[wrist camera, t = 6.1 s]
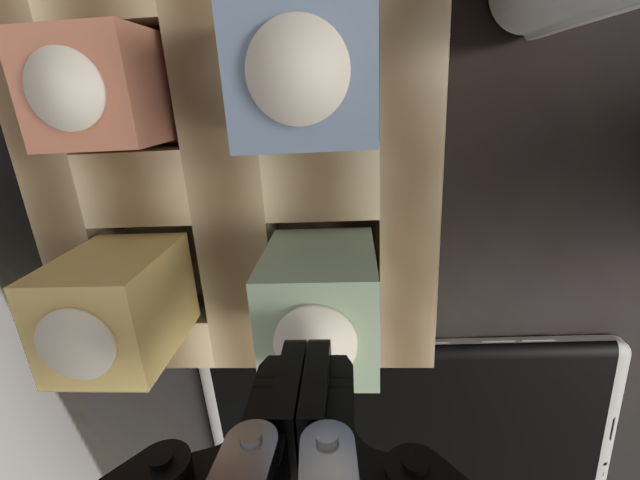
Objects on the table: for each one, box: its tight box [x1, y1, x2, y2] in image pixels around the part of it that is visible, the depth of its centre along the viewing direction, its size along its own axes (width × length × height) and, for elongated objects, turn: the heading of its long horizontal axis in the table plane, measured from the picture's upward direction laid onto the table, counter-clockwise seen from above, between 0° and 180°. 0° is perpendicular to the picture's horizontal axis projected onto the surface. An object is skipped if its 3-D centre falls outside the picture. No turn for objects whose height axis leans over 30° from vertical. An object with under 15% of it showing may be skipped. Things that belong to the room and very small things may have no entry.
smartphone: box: [199, 334, 631, 480], centre depth 28 cm, size 13×27×2 cm, turn 95°
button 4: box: [246, 227, 380, 393], centre depth 18 cm, size 5×5×6 cm
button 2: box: [3, 232, 200, 392], centre depth 18 cm, size 5×5×6 cm
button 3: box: [211, 0, 379, 156], centre depth 15 cm, size 5×5×6 cm
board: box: [0, 0, 452, 368], centre depth 21 cm, size 20×20×4 cm
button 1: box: [0, 16, 178, 155], centre depth 18 cm, size 5×5×6 cm
